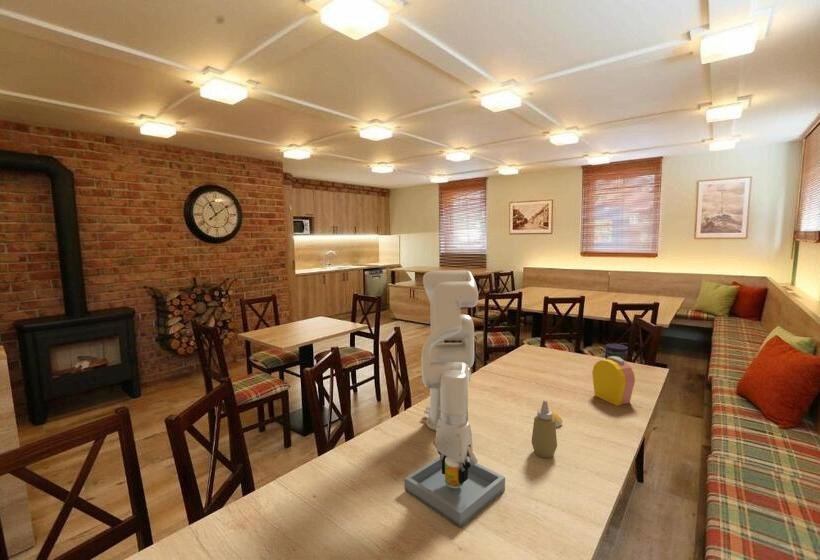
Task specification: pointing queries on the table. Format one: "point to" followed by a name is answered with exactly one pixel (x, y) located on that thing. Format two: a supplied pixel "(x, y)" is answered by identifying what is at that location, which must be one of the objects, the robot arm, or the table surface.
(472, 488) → the box
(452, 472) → the supplement bottle
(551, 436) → the squeeze bottle
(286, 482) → the table surface
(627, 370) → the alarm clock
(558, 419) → the bread roll
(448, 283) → the robot arm
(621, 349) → the storage jar
